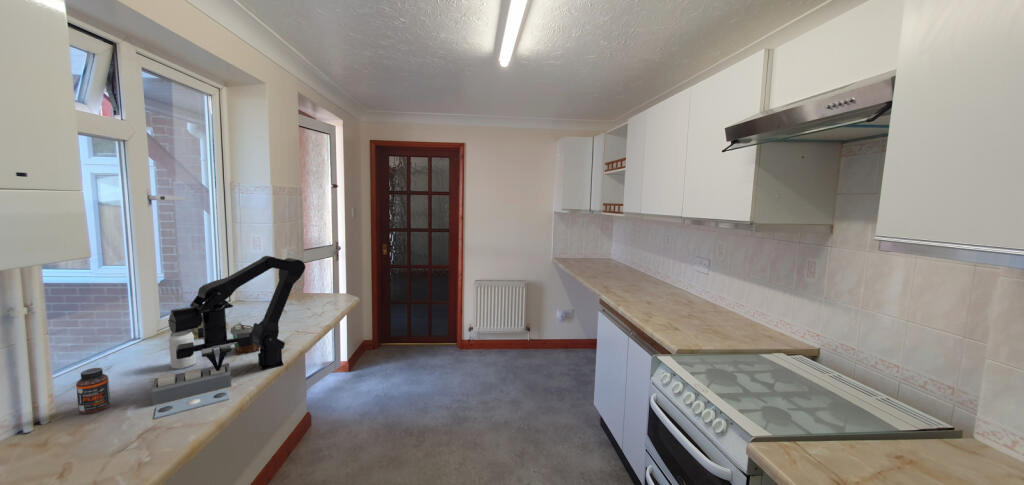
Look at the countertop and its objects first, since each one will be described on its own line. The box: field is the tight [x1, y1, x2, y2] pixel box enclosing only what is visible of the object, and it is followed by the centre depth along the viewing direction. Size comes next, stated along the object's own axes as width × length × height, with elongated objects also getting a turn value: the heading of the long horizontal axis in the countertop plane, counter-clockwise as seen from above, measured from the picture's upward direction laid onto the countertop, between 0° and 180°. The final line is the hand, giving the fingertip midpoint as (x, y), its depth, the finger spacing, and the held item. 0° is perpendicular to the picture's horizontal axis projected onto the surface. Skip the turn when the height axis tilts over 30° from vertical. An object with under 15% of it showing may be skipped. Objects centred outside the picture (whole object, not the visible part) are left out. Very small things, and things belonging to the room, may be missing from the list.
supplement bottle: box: [75, 367, 112, 415], centre depth 102 cm, size 6×6×11 cm
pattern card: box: [153, 388, 230, 420], centre depth 107 cm, size 16×7×1 cm, turn 130°
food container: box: [229, 321, 260, 355], centre depth 141 cm, size 12×6×10 cm, turn 68°
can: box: [168, 330, 197, 370], centre depth 129 cm, size 6×6×12 cm
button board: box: [150, 362, 232, 406], centre depth 114 cm, size 18×10×4 cm, turn 130°
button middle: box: [184, 367, 202, 381], centre depth 114 cm, size 4×4×2 cm
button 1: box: [157, 373, 176, 387], centre depth 110 cm, size 4×4×2 cm
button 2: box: [211, 367, 225, 375], centre depth 118 cm, size 4×4×2 cm
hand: (218, 370), depth 118 cm, fingers closed, pressing on button 2
